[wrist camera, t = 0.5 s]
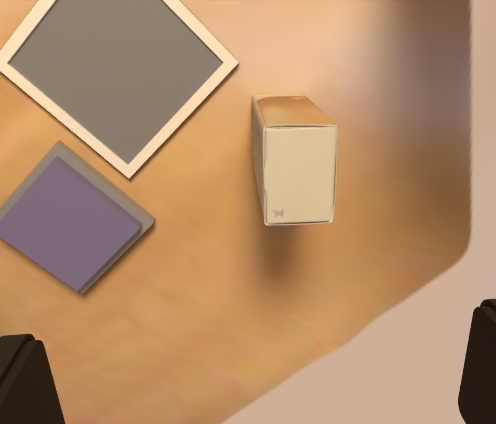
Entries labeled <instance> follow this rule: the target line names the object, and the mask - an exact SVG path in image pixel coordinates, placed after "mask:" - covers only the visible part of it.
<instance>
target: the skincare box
mask: <svg viewBox="0 0 496 424" xmlns="http://www.w3.org/2000/svg"><path fill="white" fill-rule="evenodd" d="M337 145H338V126H337V125H336V124H335V123H334V122H333V121H332V120H331V119H329V118H328V117H327V116H326V115H325V114H324V113H323V112H322V111H321V110H320V109H319V108H318V107H317V106H316V105H315V104H314V103H313V102H312V101H310V100H309V99H308V98H307V97H306V96H305V95H304V94H255V95H253V96H252V151H253V167H254V172H255V177H256V182H257V188H258V193H259V198H260V204H261V209H262V214H263V219H264V224H265V225H266V226H269V225H305V224H320V223H331V222H332V221H333V216H334V208H335V197H336V180H337Z"/></svg>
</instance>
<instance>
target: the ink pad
mask: <svg viewBox="0 0 496 424" xmlns="http://www.w3.org/2000/svg"><path fill="white" fill-rule="evenodd" d="M154 220H155V218H154V217H153V216H152V215H150V214H149V213H148V212H147V211H146V210H144V209H143V208H142V207H141V206H139V205H138V204H137V203H136V202H135V201H133V200H132V199H131V198H130V197H128V196H127V195H126V194H125V193H124V192H122V191H121V190H120V189H119V188H117V187H116V186H115V185H114V184H113V183H111V182H110V181H109V180H108V179H106V178H105V177H104V176H103V175H102V174H100V173H99V172H98V171H97V170H95V169H94V168H93V167H92V166H91V165H89V164H88V163H87V162H86V161H84V160H83V159H82V158H81V157H80V156H78V155H77V154H76V153H75V152H73V151H72V150H71V149H70V148H69V147H67V146H66V145H65V144H64V143H62V142H61V141H58V142H57V143H56V144H55V145H54V146H53V147H52V148H51V150H50V151H49V152H48V153H47V154H46V155H45V157H44V158H43V159H42V160H41V161H40V162H39V164H38V165H37V166H36V167H35V168H34V169H33V170H32V172H31V173H30V174H29V175H28V176H27V177H26V179H25V180H24V181H23V182H22V183H21V184H20V186H19V187H18V188H17V189H16V190H15V191H14V193H13V194H12V195H11V196H10V197H9V198H8V199H7V201H6V202H5V203H4V204H3V205H2V206H1V208H0V238H1V239H3V240H4V241H5V242H7V243H8V244H10V245H11V246H13V247H14V248H15V249H17V250H18V251H20V252H21V253H23V254H24V255H25V256H27V257H28V258H30V259H31V260H32V261H34V262H35V263H37V264H38V265H40V266H41V267H42V268H44V269H45V270H47V271H48V272H50V273H51V274H52V275H54V276H55V277H57V278H58V279H60V280H61V281H62V282H64V283H65V284H67V285H68V286H69V287H71V288H72V289H74V290H75V291H77V292H79V293H80V294H81V295H82V294H83V293H84V292H85V291H86V290H87V289H88V288H89V287H90V286H91V285H92V284H93V283H94V282H95V281H96V280H97V279H98V278H99V277H100V276H101V275H102V274H103V273H104V272H105V271H106V270H107V269H108V268H109V267H110V266H111V265H112V264H113V263H114V262H115V261H116V260H117V259H118V258H119V257H120V256H121V255H122V254H123V253H124V252H125V251H126V250H127V249H128V248H129V247H130V246H131V245H132V244H133V243H134V242H135V241H136V240H137V239H138V238H139V237H140V236H141V235H142V234H143V233H144V232H145V231H146V230H147V229H148V228H149V227H150V226H151V225H152V224H153V223H154Z"/></svg>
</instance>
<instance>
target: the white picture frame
mask: <svg viewBox="0 0 496 424" xmlns="http://www.w3.org/2000/svg"><path fill="white" fill-rule="evenodd" d="M238 63H239V62H238V61H237V60H236V59H235V58H234V57H233V56H232V55H231V53H230V52H229V51H228V50H227V49H226V48H225V47H224V46H223V45H222V44H221V43H220V42H219V41H218V40H217V39H216V38H215V37H214V36H213V35H212V34H211V33H210V32H209V31H208V30H207V29H206V28H205V27H204V25H203V24H202V23H201V22H200V21H199V20H198V19H197V18H196V17H195V16H194V15H193V14H192V13H191V12H190V11H189V10H188V9H187V8H186V7H185V6H184V5H183V4H182V3H181V2H180V1H179V0H39V1H38V2H37V4H36V5H35V6H34V8H33V9H32V10H31V12H30V13H29V14H28V16H27V17H26V18H25V19H24V21H23V22H22V23H21V25H20V26H19V27H18V29H17V30H16V31H15V33H14V34H13V35H12V36H11V38H10V39H9V40H8V42H7V43H6V44H5V46H4V47H3V48H2V50H1V51H0V71H1V72H2V73H3V74H4V75H5V76H7V77H8V78H9V79H10V80H11V81H13V82H14V83H15V84H16V85H17V86H19V87H20V88H21V89H22V90H23V91H25V92H26V93H27V94H28V95H29V96H31V97H32V98H33V99H34V100H35V101H37V102H38V103H39V104H40V105H41V106H43V107H44V108H45V109H46V110H47V111H49V112H50V113H51V114H52V115H53V116H55V117H56V118H57V119H58V120H59V121H61V122H62V123H63V124H64V125H65V126H67V127H68V128H69V129H70V130H71V131H73V132H74V133H75V134H76V135H77V136H79V137H80V138H81V139H82V140H83V141H85V142H86V143H87V144H88V145H89V146H91V147H92V148H93V149H94V150H95V151H97V152H98V153H99V154H100V155H101V156H103V157H104V158H105V159H106V160H107V161H108V162H110V163H111V164H112V165H113V166H114V167H116V168H117V169H118V170H119V171H120V172H122V173H123V174H124V175H125V176H126V177H128V178H130V177H131V176H132V175H133V174H134V173H135V172H136V171H137V170H138V169H139V168H140V166H141V165H142V164H143V163H144V162H145V161H146V160H147V159H148V158H149V157H150V156H151V155H152V154H153V153H154V152H155V151H156V150H157V148H158V147H159V146H160V145H161V144H162V143H163V142H164V141H165V140H166V139H167V138H168V137H169V136H170V135H171V134H172V133H173V132H174V131H175V129H176V128H177V127H178V126H179V125H180V124H181V123H182V122H183V121H184V120H185V119H186V118H187V117H188V116H189V115H190V114H191V113H192V112H193V110H194V109H195V108H196V107H197V106H198V105H199V104H200V103H201V102H202V101H203V100H204V99H205V98H206V97H207V96H208V95H209V94H210V93H211V91H212V90H213V89H214V88H215V87H216V86H217V85H218V84H219V83H220V82H221V81H222V80H223V79H224V78H225V77H226V76H227V75H228V74H229V72H230V71H231V70H232V69H233V68H234V67H235V66H236V65H237V64H238Z"/></svg>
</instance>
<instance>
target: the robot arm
mask: <svg viewBox="0 0 496 424" xmlns="http://www.w3.org/2000/svg"><path fill="white" fill-rule="evenodd" d="M458 406H459V410H460V413H461V416H462V418H463V419H464V421H465V423H466V424H496V299H486V300H484V301H483V302H482V303H481V305H480V307H477V308H475V310H474V312H473V317H472V323H471V328H470V334H469V340H468V345H467V351H466V357H465V363H464V368H463V375H462V380H461V386H460V392H459V397H458ZM0 424H65V421H64V417H63V413H62V410H61V406H60V402H59V399H58V395H57V391H56V388H55V384H54V380H53V377H52V373H51V369H50V366H49V362H48V358H47V355H46V351H45V347H44V344H43V342H42V341H41V340H35V338H34V336H33V335H32V334H20V335H7V336H2V337H0Z"/></svg>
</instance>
